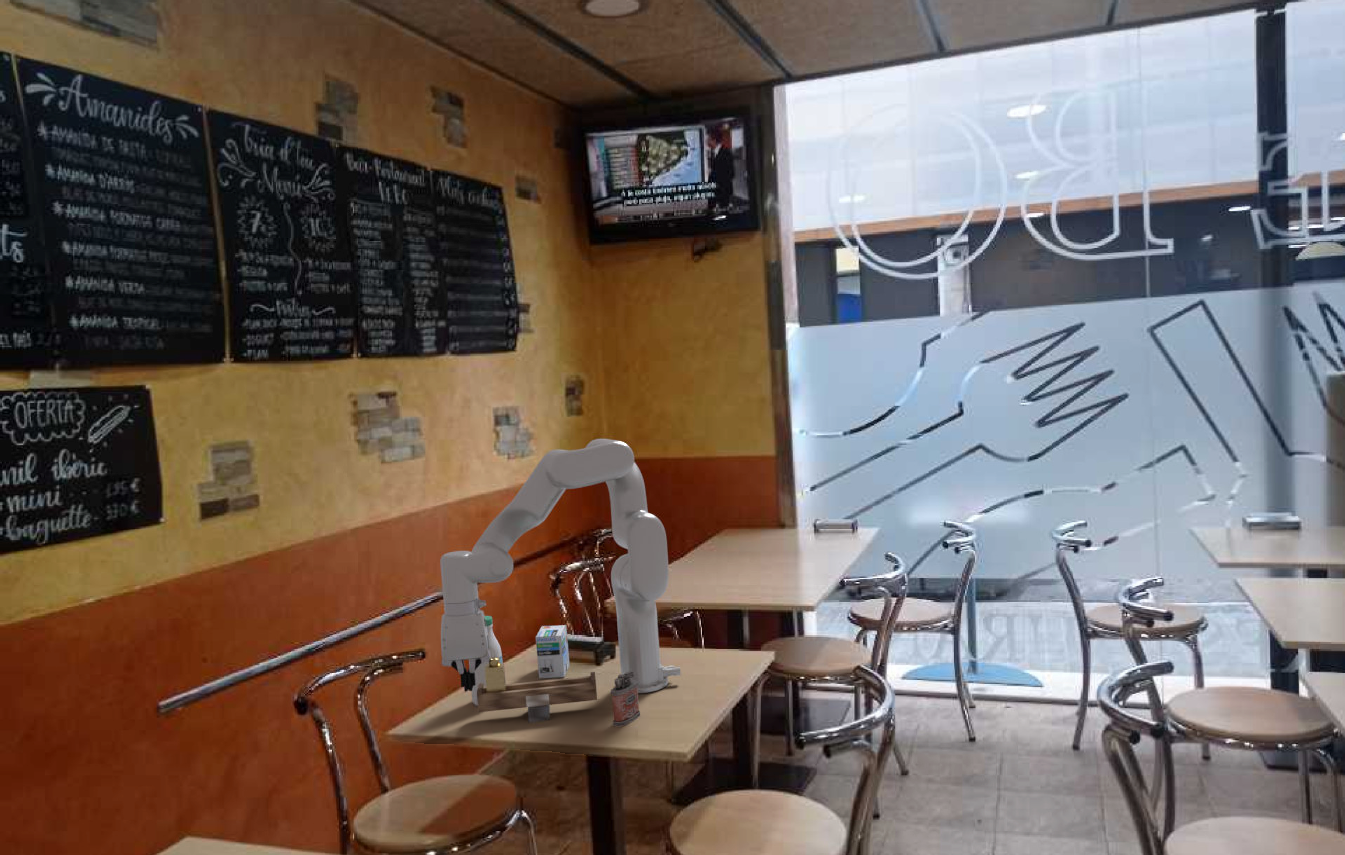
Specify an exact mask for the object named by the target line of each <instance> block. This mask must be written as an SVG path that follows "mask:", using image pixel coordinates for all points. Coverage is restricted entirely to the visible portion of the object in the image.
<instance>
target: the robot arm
mask: <svg viewBox="0 0 1345 855" xmlns="http://www.w3.org/2000/svg"><path fill="white" fill-rule="evenodd" d="M644 481H645V480H644V478H643V475H642V473H641V469H640V468H639V467H638V465H637V463H636V462H635V455H634V452H633V449H632V448H631V447H630V446H629V445H628V444H627V443H625V442H624V441H621V440H616V439H609V438H596V439H593V440H591V441H590V442H588V444H587V445H586V446H585V447H584V448H579V449H572V450H568V449H560V448H559V449H558V448H557V449H552V450H549V451H548V452H547V453H546V454H544V456H542V458H541V459H540V461H539V462H538V464H537V465H536V466H535V468H534V469H533V471H532V472H531V474H530V475H529V477H528V478H527V479H526V481H525V482H524V483H523V484H522V486H521V488H520V489H519V491H518V492H517V494H516V495H515V497H514V498H513V499H512V500H511V502H510V503H508V504H507V505H506V506H505V507H504V508H503V510H501V511H500V512H499V514H498V515H497V516H496V517H495V518H493V520H492V521H491V522H490V523H489V525H488V526H486V529H485V530H484V531H483V533H482V534H481V536H480V537H479V538H478V540H477V542H475V544H474V546H473V548H472V550H471V551H469V550H455V551H450V552H446V553H444V554H443V555H442V556H441V557H440V562H439V563H440V574H441V576H440V577H441V585H442V588H441V589H442V596H443V606H444V607H443V610H444V614H442V615H441V622H440V623H441V624H440V646H441V647H440V648H441V650H440V651H441V665H442V666H444V667H452V668H453V669H454V670H455V671H457V673H458V674H459V675H460V676H459V677H460V686H461V688H462V687H463V691H464V692H465V693H466V692H468V691H469V692H472V689H473V686H475V685H476V682H475V670H476V669H477V668H478V666H479V665H480V664H482V663H485V662H488V661H489V660H491V655H490V653H489V638H488V631H487V625H486V620H485V616H486V615H485V612H484V610H482V609H481V608H483V607H486V606H487V603H486V600H485V599H484V600H482V599H480V597H479V592H478V591H479V590H478V589H479V587H478V583H480V584H481V583H482V584H483V583H485V584H487V583H492V584H493V583H499V582H502V581H505V580H507V579H508V578H509V577H510V576H511V574H512V572H513V570H514V561H513V557H512V556H511V554H509V553H508V552H509V551H510V550H511V548H512V547H513V546H514V544H515V543H516V542H517V541H518V539H520V537H522V535H523V534H525V533H527V532H528V531H530V530H532V529H534V528H536V527H538V526H540V525H541V524H542V523H543V522H545V520H546V519H547V518H548V516H549V515H550V513H551V512H552V510H553V509H554V507H555V505H556V504H557V503H558V502H559V500H560V499H561V497H562V496H563V494H564V493H565V492H566V490H572V489H579V488H584V487H588V486H589V487H590V486H594V485H597V484H601V483H605V484H606V485H607V489H608V493H609V501H610V510H611V511H610V514H611V530H612V536H613V540H614V541H615V543H616V544H617V545H618V546H619V547H621V548H624V549H627V553H626V554H623V555H620V556H619V558H617V559H616V560H615V562H614V563H613V565H612V567H611V572H610V579H611V580H610V581H611V588H612V592H613V596H614V597H613V598H614V603H615V610H616V611H615V612H616V618H617V619H616V622H617V633H618V634H617V636H618V650H619V664H620V674H621V675H624V674H625V673H627V672H629V671H633V672H634V677H633V678H631V679H630V680H635V681H637V682H638V686H637V692H638V694H646V693H652V692H656V691H659V690H661V689H664V688H666V687H667V686H668V684H669V677H671V676H673V677H675V676H676V677H677V676H681V675H682V674H681V667H680V666H678V667H675V665H669V666H665V665H663V664H662V662H661V656H660V642H659V626H658V610H657V605H656V601H657V600H658V599H660V598H661V597H662V596H663V595H664V594H665V593H666V590H667V588H668V584H669V580H670V575H669V574H670V573H669V556H668V541H667V540H668V539H667V534H666V529H665V527H664V525H663V523H662V521H661V519H659V518H658V517H657V516H656V515H655V514H654V513H653V514H652V513H650V512H649V511H648V503H647V494H646V492H647V491H646V487H645V486H646V485H645V482H644ZM469 659H470V666H469V667H468V669H467V668H466V665H465V661H467V660H468V661H469Z"/></svg>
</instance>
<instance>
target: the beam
mask: <svg viewBox="0 0 1345 855" xmlns="http://www.w3.org/2000/svg"><path fill="white" fill-rule="evenodd" d="M597 694H598V691H597V681H596V672H595V671H590V675H586V676H576V677H575V676H574V677H568V678H567V677H566V678H565V677H563V678H555V679H547V680H536V681H529V682H525V681H524V682H517V683H508V684H506V691H503V692H493V693H487V688H486V687H484V683H481V684H479V686H478V689H477V701H478V706H477V710H478V713H485V712H486V713H487V712H494V711H495V712H496V711H504V710H505V711H506V710H516V709H522V708H525V709H526V708H527V714H528V722H529V723H532V722H542V721H550V710H551V709H550V706H552V705H553V706H554V705H561V704H563V705H564V704H570V703H571V704H572V703H579V702H589V701H590V702H591V701H598V696H597Z"/></svg>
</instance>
